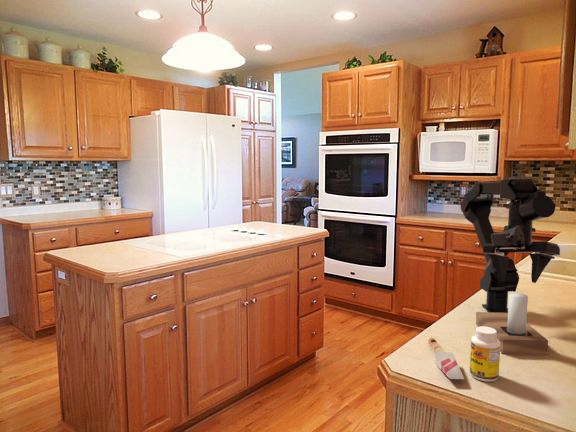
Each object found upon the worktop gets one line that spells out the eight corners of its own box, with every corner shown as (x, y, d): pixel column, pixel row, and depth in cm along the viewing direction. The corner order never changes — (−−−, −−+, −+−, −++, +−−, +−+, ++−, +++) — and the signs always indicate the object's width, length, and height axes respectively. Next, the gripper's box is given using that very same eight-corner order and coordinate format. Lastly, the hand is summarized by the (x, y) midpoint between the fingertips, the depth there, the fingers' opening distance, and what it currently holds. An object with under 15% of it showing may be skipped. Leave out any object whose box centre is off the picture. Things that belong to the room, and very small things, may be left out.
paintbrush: (447, 371, 87) (424, 335, 107) (447, 384, 87) (424, 346, 107) (467, 372, 87) (440, 335, 106) (466, 385, 87) (440, 346, 107)
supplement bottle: (464, 371, 93) (466, 325, 92) (487, 368, 94) (489, 323, 93) (480, 384, 88) (482, 336, 86) (504, 381, 89) (507, 333, 87)
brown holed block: (475, 324, 119) (476, 312, 118) (513, 325, 118) (514, 312, 117) (502, 353, 101) (503, 339, 100) (547, 354, 100) (548, 340, 100)
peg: (503, 341, 108) (505, 292, 106) (520, 341, 107) (523, 292, 106) (510, 348, 104) (513, 298, 102) (528, 349, 103) (531, 298, 102)
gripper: (470, 220, 121) (466, 276, 118) (532, 214, 104) (529, 279, 102) (498, 227, 125) (495, 281, 123) (562, 222, 109) (560, 285, 106)
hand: (517, 281), depth 113 cm, fingers open, 9 cm apart
